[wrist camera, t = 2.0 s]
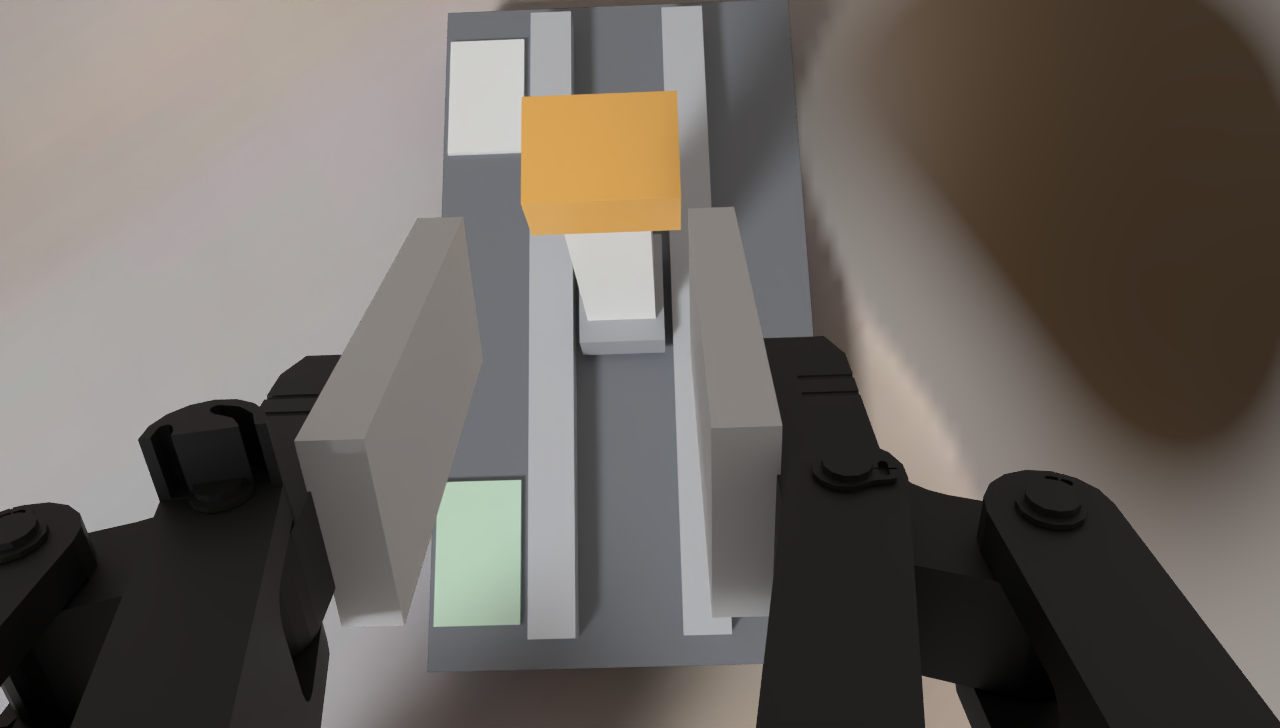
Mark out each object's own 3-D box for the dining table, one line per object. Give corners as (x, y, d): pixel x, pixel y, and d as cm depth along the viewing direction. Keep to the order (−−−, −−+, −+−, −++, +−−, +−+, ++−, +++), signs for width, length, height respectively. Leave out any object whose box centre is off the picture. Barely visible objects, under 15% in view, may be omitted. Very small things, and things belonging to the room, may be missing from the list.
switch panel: (462, 54, 43) (441, -6, 39) (780, 41, 43) (791, -21, 39) (447, 669, 36) (418, 673, 32) (824, 659, 36) (843, 662, 32)
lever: (569, 253, 37) (521, 79, 25) (675, 249, 37) (676, 73, 25) (570, 355, 36) (520, 222, 24) (678, 351, 36) (682, 216, 24)
